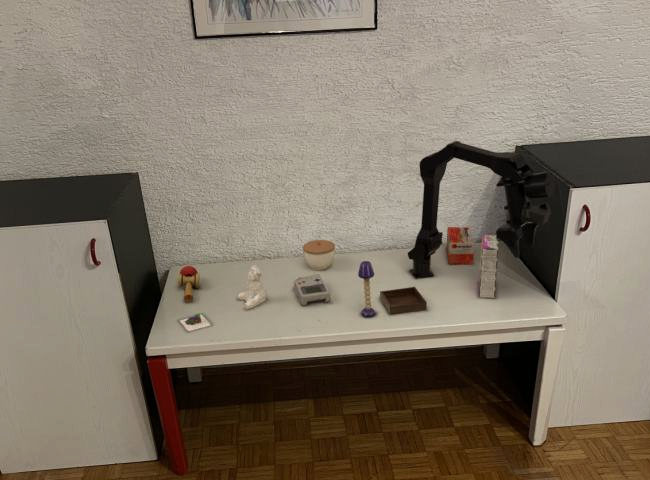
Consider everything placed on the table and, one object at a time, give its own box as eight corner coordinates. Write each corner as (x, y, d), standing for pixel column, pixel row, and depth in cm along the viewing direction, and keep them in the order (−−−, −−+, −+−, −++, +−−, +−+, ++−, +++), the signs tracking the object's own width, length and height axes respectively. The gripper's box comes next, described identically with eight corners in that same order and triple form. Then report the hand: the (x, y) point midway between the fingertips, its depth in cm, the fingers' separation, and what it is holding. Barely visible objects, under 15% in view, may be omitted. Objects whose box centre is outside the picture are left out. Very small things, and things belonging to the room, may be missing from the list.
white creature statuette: (237, 298, 220) (232, 263, 214) (262, 292, 223) (259, 258, 216) (246, 310, 212) (242, 274, 206) (272, 304, 215) (269, 268, 209)
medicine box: (473, 264, 233) (474, 242, 229) (448, 265, 234) (449, 242, 230) (469, 247, 246) (470, 226, 242) (445, 247, 247) (446, 226, 243)
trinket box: (316, 258, 244) (315, 233, 240) (341, 264, 239) (340, 238, 234) (298, 269, 237) (296, 243, 232) (323, 275, 231) (322, 249, 227)
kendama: (204, 304, 220) (203, 274, 234) (198, 288, 216) (197, 258, 230) (181, 310, 220) (180, 280, 234) (174, 294, 216) (174, 264, 230)
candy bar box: (478, 282, 221) (481, 234, 213) (494, 283, 220) (498, 234, 212) (478, 298, 211) (481, 248, 203) (495, 299, 210) (499, 248, 202)
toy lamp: (364, 319, 203) (363, 267, 195) (356, 313, 207) (354, 261, 199) (378, 315, 205) (377, 263, 197) (370, 309, 209) (369, 257, 200)
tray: (379, 298, 214) (379, 291, 213) (414, 294, 216) (414, 286, 215) (390, 315, 205) (390, 307, 204) (426, 310, 206) (426, 302, 205)
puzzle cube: (198, 318, 209) (197, 311, 208) (201, 322, 207) (200, 315, 206) (184, 322, 207) (183, 315, 206) (188, 325, 205) (186, 318, 204)
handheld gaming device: (320, 283, 226) (319, 273, 224) (330, 303, 214) (330, 292, 212) (293, 288, 225) (292, 277, 223) (302, 307, 212) (301, 296, 210)
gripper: (529, 207, 184) (536, 262, 190) (557, 188, 197) (564, 240, 202) (491, 210, 192) (499, 263, 197) (521, 191, 204) (528, 242, 209)
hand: (524, 252), depth 201 cm, fingers open, 9 cm apart
